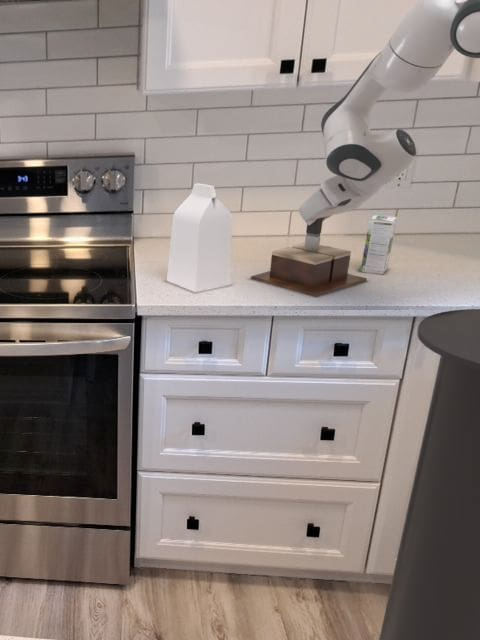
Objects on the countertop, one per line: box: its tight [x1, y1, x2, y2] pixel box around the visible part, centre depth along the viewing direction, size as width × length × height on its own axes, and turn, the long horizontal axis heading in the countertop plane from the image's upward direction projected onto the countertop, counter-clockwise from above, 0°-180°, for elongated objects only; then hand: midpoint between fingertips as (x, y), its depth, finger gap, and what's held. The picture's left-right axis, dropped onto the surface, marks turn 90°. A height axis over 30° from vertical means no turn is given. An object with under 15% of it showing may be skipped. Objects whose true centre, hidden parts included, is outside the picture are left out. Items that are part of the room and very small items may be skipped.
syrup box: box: [360, 214, 398, 275], centre depth 184 cm, size 6×6×14 cm
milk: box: [166, 182, 233, 293], centre depth 180 cm, size 12×12×26 cm
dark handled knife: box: [304, 217, 324, 253], centre depth 177 cm, size 4×2×15 cm, turn 31°
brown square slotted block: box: [250, 242, 367, 298], centre depth 181 cm, size 20×20×8 cm
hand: (312, 221), depth 177 cm, fingers closed on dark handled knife, 2 cm apart
